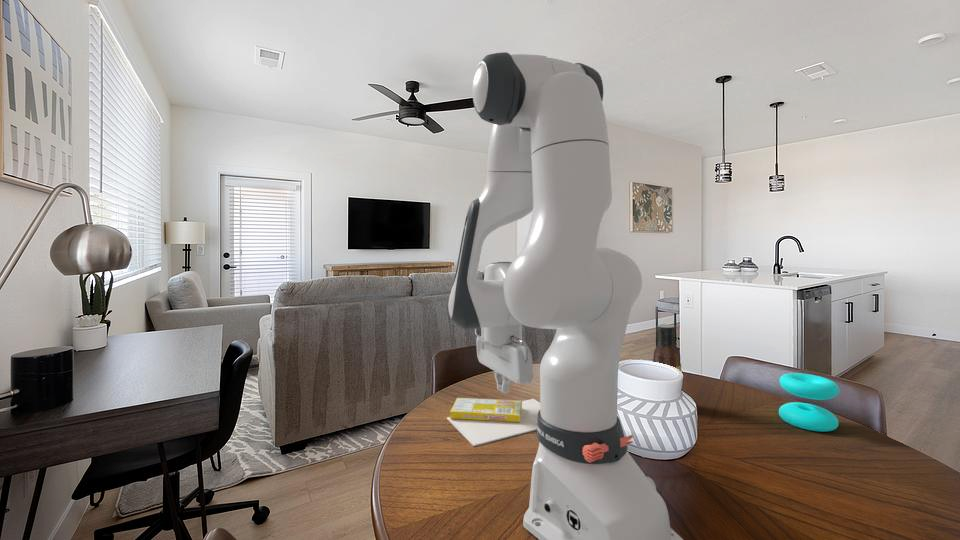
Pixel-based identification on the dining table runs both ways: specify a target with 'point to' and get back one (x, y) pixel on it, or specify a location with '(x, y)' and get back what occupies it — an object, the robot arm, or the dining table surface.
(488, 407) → the candy box
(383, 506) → the dining table surface
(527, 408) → the rubber mat
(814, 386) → the donuts
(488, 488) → the dining table surface
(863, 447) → the dining table surface
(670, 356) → the sauce bottle
